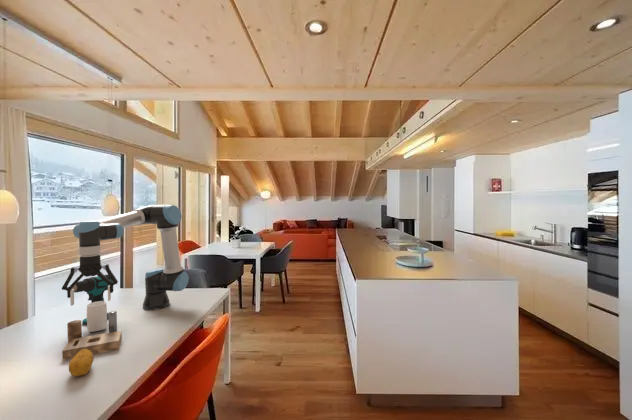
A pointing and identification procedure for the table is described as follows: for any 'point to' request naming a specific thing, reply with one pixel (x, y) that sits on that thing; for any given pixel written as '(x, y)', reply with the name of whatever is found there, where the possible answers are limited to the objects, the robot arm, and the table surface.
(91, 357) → the potato
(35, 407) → the table surface
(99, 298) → the power drill
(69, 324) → the walnut dowel
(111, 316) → the grey metal peg
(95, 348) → the socket block
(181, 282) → the robot arm
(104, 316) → the cup
